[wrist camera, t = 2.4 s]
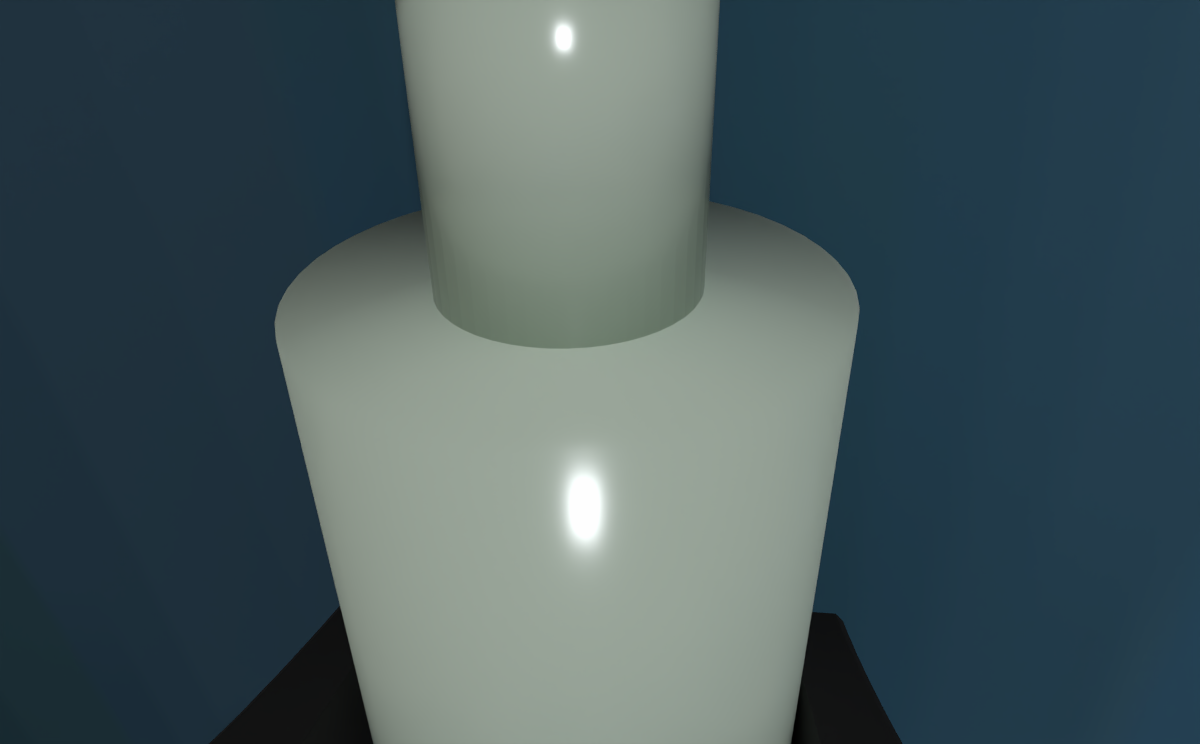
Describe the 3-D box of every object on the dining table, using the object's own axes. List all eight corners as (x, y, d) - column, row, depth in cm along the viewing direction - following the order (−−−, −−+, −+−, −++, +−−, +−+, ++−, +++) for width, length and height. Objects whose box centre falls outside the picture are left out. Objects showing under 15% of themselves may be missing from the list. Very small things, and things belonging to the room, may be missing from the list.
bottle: (744, 823, 16) (758, 1183, 11) (478, 798, 16) (395, 1134, 12) (870, -195, 8) (1077, -255, 3) (331, -183, 8) (-80, -224, 4)
